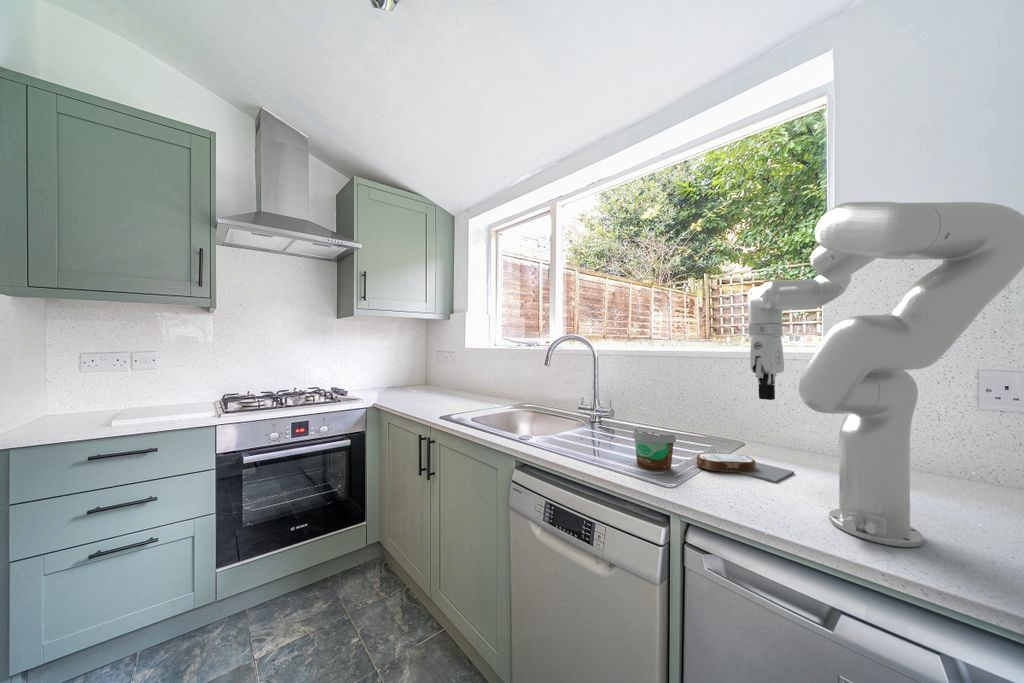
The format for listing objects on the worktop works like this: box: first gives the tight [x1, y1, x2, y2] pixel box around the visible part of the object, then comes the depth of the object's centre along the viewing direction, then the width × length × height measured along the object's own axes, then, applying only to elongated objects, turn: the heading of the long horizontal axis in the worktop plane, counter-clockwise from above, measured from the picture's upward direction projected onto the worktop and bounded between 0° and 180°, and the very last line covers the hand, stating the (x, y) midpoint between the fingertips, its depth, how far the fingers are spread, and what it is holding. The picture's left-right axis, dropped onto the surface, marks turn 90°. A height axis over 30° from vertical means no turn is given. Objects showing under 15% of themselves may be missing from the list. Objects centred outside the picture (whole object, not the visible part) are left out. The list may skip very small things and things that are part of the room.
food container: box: [631, 427, 677, 472], centre depth 103 cm, size 12×6×10 cm, turn 47°
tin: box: [696, 452, 756, 473], centre depth 102 cm, size 15×3×8 cm
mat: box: [736, 461, 795, 484], centre depth 101 cm, size 12×16×1 cm
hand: (766, 399), depth 98 cm, fingers closed
